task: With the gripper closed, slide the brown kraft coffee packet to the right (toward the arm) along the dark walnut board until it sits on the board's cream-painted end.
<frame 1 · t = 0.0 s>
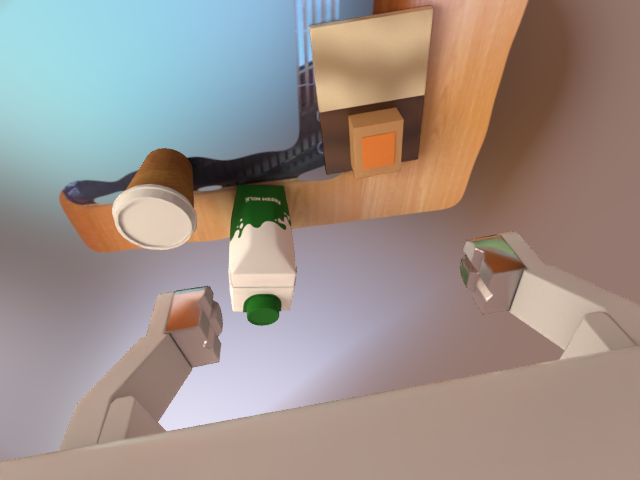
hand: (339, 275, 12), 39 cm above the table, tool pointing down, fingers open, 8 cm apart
milk carton: (260, 201, 59), on the table
board: (370, 99, 49), on the table
disposable coffee cup: (169, 166, 52), on the table
coffee packet: (372, 137, 52), point 1 cm above the table, touching board
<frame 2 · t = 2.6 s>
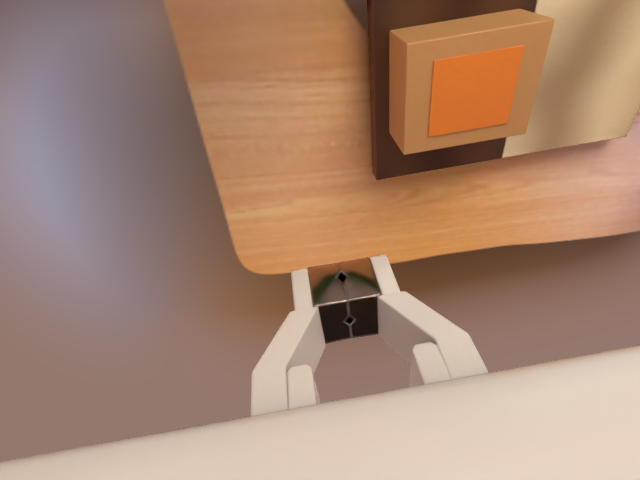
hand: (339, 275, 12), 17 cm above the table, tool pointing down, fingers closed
board: (513, 58, 25), on the table
coffee packet: (448, 75, 24), point 1 cm above the table, touching board
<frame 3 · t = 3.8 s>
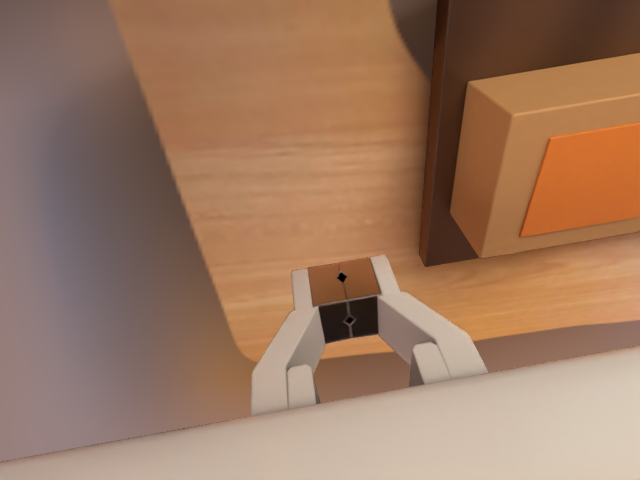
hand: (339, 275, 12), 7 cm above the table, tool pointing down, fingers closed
board: (632, 112, 17), on the table
coffee packet: (544, 140, 17), point 1 cm above the table, touching board
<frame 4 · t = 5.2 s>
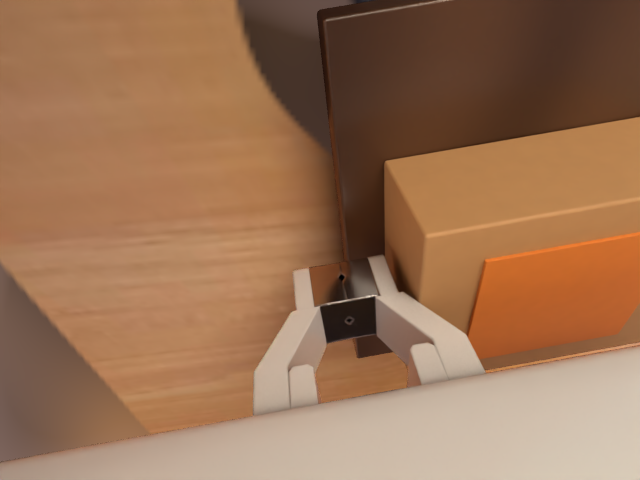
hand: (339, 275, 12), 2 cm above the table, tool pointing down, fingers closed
board: (602, 182, 14), on the table
coffee packet: (497, 223, 13), point 1 cm above the table, touching gripper
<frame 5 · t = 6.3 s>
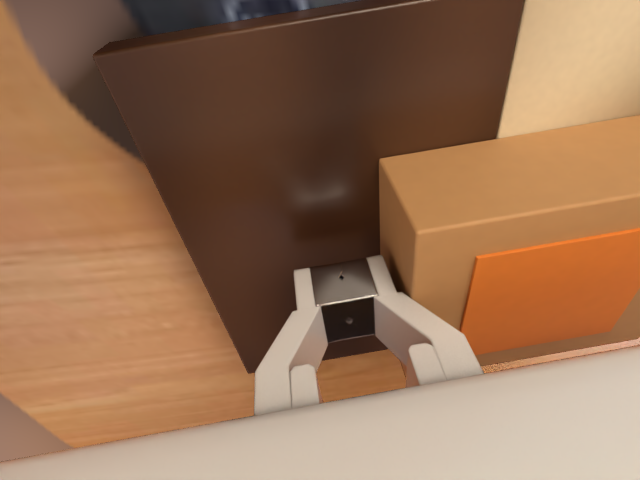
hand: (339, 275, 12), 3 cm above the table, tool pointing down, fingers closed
board: (465, 203, 14), on the table
coffee packet: (491, 221, 13), point 1 cm above the table, touching board, gripper
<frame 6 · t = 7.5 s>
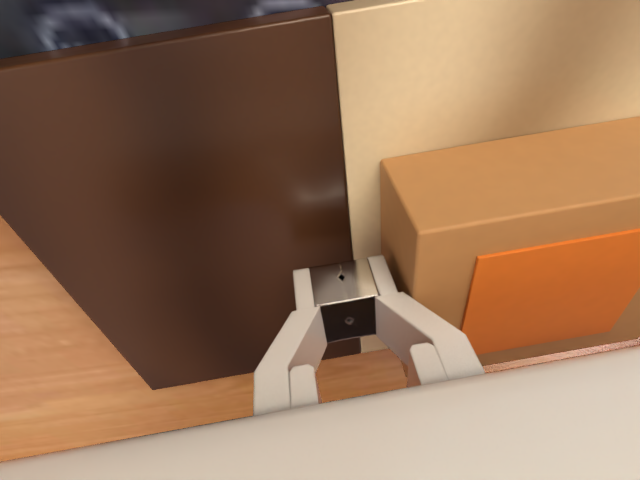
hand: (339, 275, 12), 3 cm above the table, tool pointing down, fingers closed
board: (346, 223, 14), on the table
coffee packet: (491, 222, 13), point 1 cm above the table, touching board, gripper
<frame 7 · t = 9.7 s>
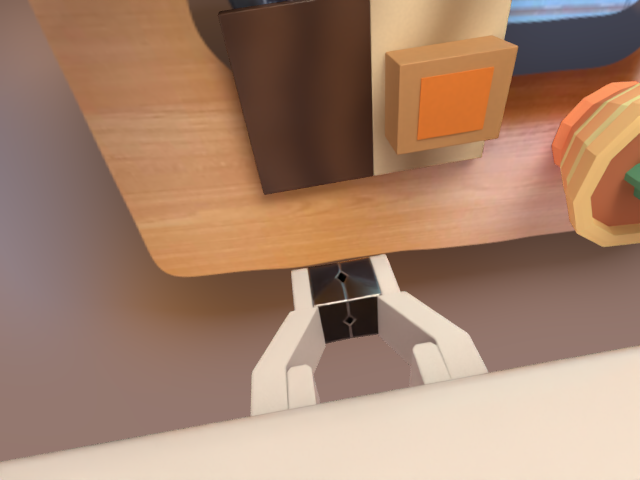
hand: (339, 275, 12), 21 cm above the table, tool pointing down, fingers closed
board: (368, 93, 29), on the table
potted cactus: (598, 129, 35), on the table
coffee packet: (434, 89, 29), point 1 cm above the table, touching board
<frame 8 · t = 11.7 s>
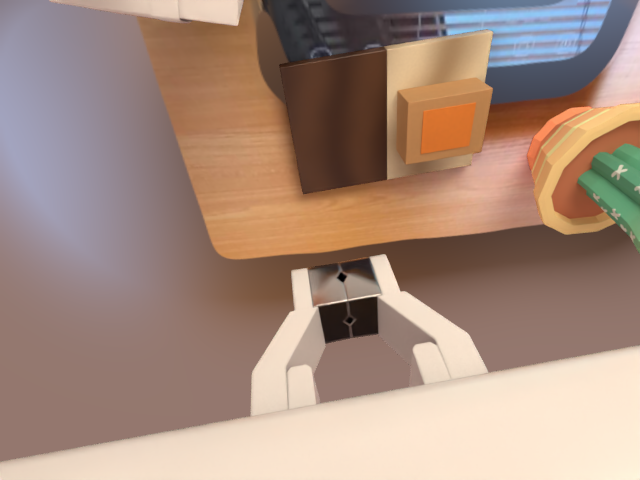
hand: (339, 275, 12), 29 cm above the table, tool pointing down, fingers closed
board: (384, 118, 39), on the table
potted cactus: (563, 142, 44), on the table
coffee packet: (434, 115, 38), point 1 cm above the table, touching board
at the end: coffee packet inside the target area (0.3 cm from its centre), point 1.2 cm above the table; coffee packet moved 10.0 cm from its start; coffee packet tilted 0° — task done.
